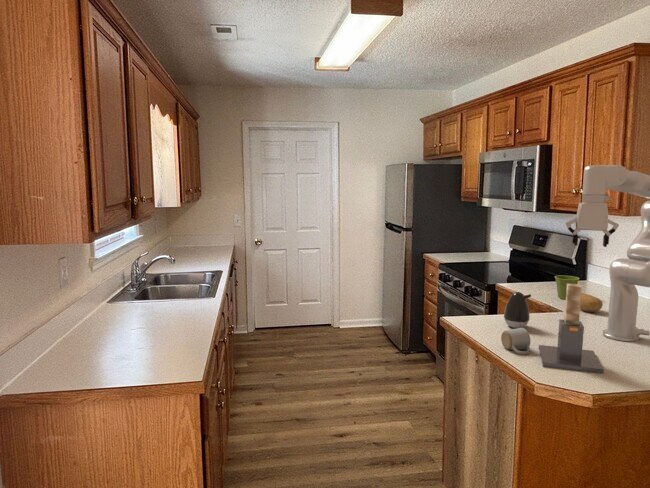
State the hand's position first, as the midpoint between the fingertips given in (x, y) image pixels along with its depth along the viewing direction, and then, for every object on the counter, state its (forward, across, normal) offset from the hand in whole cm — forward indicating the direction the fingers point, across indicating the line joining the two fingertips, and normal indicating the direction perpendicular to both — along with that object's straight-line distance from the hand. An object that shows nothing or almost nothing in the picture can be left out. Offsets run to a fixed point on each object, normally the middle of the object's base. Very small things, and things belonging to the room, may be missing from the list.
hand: (589, 245), depth 178 cm
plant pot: (+39, -3, -77) cm, 86 cm away
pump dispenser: (+38, +23, -16) cm, 48 cm away
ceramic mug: (+39, +24, +14) cm, 47 cm away
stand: (+38, +7, +19) cm, 43 cm away
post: (+30, +7, +19) cm, 36 cm away
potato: (+39, -10, -53) cm, 66 cm away
